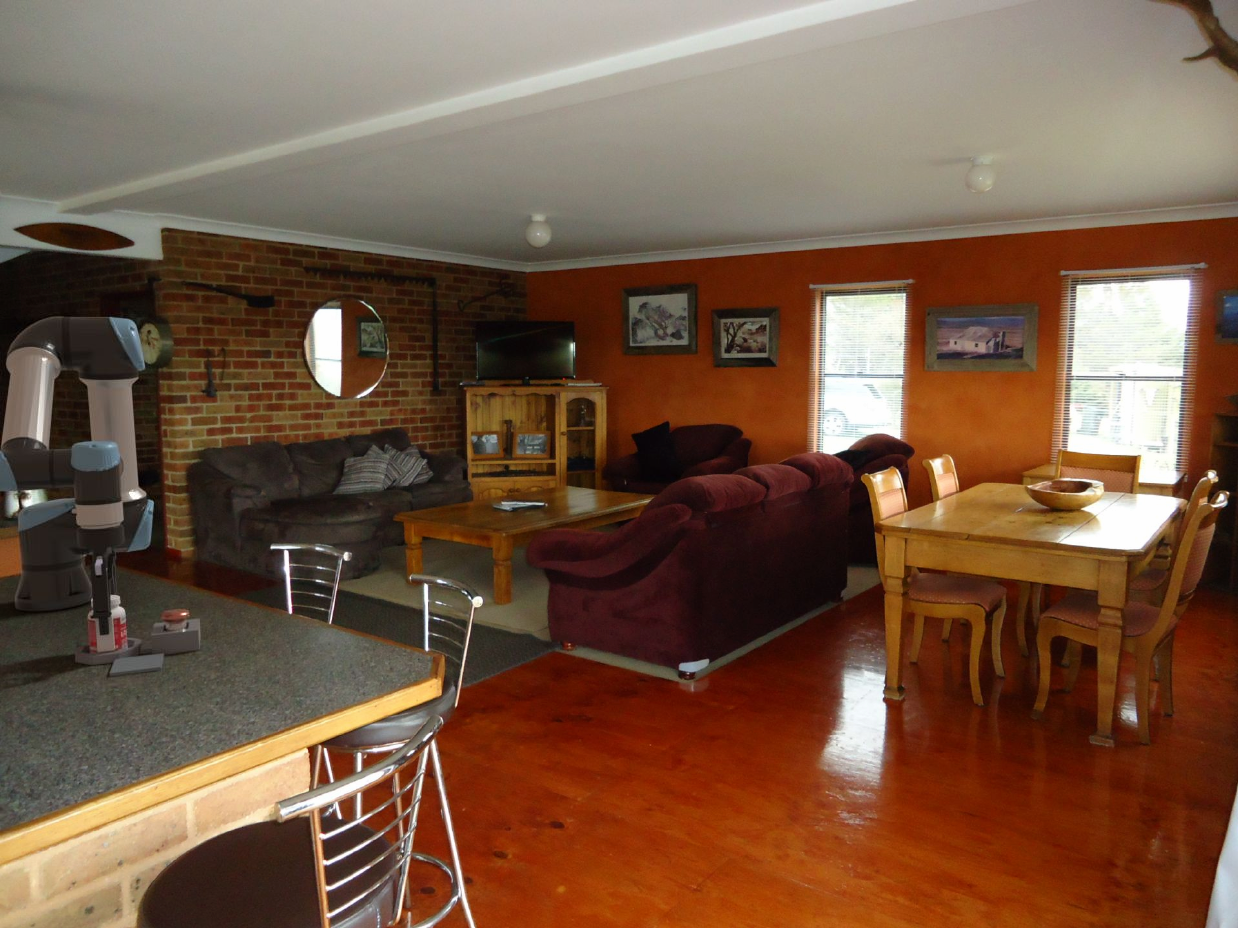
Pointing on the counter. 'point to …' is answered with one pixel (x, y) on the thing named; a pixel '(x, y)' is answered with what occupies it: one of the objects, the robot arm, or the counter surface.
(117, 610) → the pill bottle
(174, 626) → the plunger
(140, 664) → the mat
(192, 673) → the counter surface
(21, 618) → the counter surface
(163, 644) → the housing
